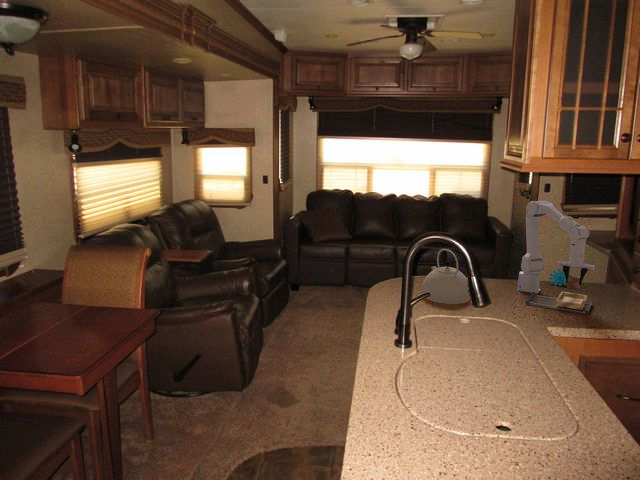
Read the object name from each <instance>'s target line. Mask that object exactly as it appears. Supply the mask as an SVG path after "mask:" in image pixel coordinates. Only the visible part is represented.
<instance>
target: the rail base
mask: <svg viewBox="0 0 640 480" xmlns="http://www.w3.org/2000/svg"><path fill="white" fill-rule="evenodd" d="M557 298H558V297H552V296H551V297H550V296H544V295H540V294H539V295H538V294H536V293H535V292H532V293H530V295H529V296H528V297H527V299H526V300H525V305H528V306H533V307H538V308H544V309H549V310H556V311H559V312H561V311H562V312H568V313H573V314H578V315H583V316H589V313H590V310H591V308H592V306H593V300H592V301H591V300H589V302H586V303H585V305H584V308H583V310H577V309H573V308H567V307H559V306H555V304H556V299H557Z"/></svg>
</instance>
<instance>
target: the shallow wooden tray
mask: <svg viewBox="0 0 640 480" xmlns="http://www.w3.org/2000/svg"><path fill="white" fill-rule="evenodd" d="M556 298H557V299H556V304H555V306H559V307H567V308H573V309H577V310H583V308H584V305H585V303H587V301H588V295H586V294H580V293H575V292H574V293H573V292H568V291H561V292H560V294H558V297H556Z"/></svg>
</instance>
